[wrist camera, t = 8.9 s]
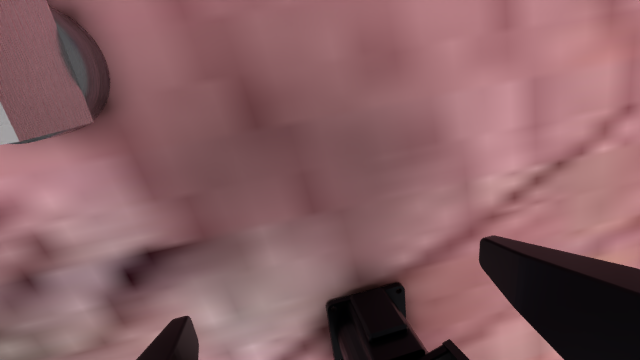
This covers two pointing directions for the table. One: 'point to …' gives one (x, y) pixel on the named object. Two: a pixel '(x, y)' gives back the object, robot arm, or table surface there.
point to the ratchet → (82, 67)
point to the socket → (35, 75)
